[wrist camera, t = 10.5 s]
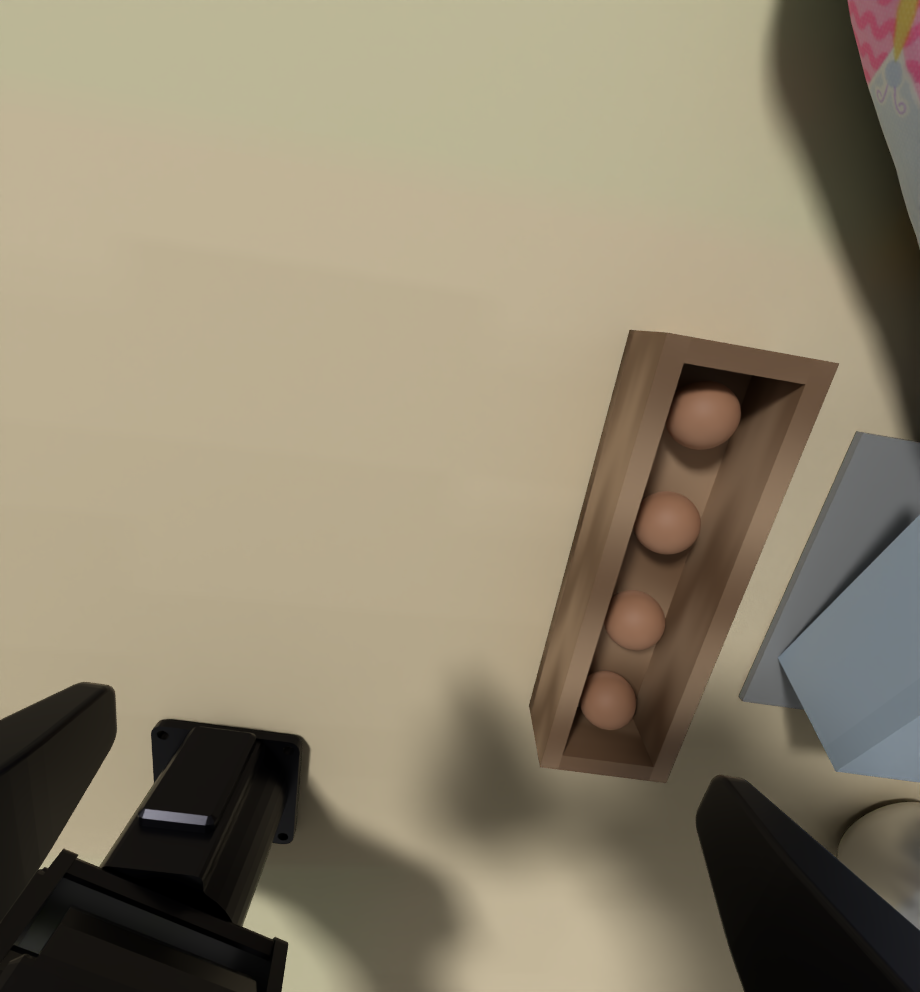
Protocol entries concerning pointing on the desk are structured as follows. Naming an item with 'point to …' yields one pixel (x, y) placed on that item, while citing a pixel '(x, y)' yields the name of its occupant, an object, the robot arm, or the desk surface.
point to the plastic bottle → (887, 855)
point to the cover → (867, 667)
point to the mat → (839, 550)
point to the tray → (669, 577)
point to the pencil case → (894, 84)
